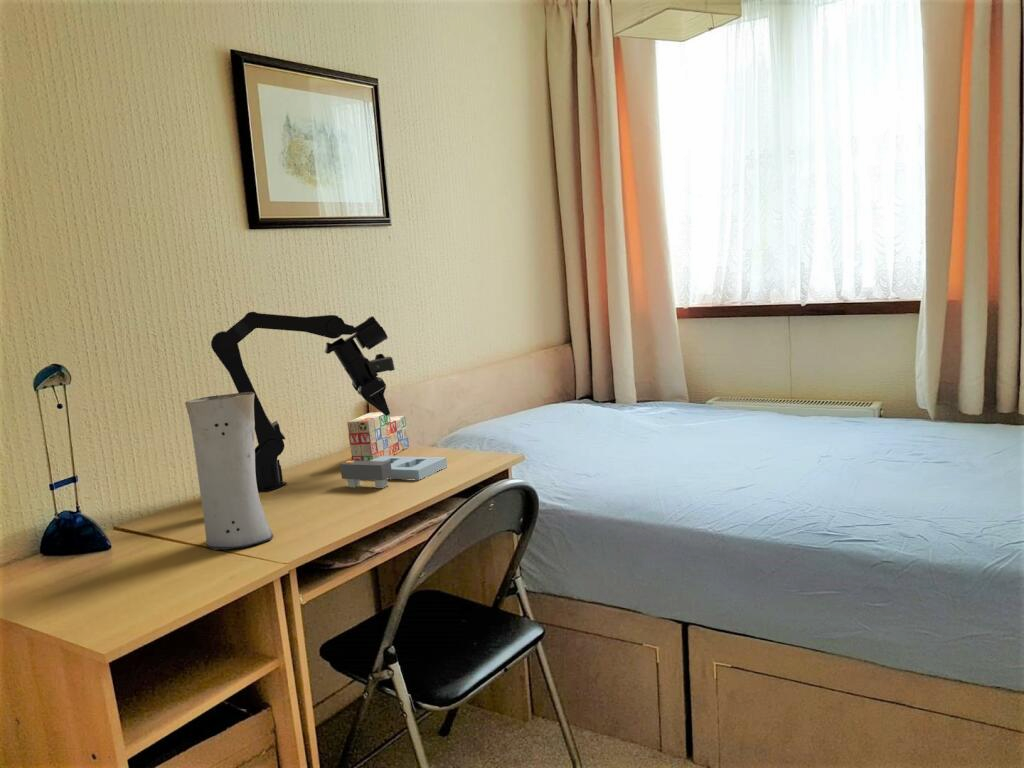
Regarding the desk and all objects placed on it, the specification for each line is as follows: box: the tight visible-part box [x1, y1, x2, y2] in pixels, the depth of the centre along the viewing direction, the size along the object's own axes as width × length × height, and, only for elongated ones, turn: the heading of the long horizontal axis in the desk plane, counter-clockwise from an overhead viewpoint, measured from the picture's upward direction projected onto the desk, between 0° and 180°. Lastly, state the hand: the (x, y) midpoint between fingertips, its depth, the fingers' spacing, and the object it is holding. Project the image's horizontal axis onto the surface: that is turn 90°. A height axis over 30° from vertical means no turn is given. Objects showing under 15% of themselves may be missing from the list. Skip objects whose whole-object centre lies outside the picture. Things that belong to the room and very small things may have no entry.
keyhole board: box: [370, 455, 448, 481], centre depth 191 cm, size 20×12×2 cm, turn 62°
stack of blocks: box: [346, 411, 410, 461], centre depth 212 cm, size 21×6×12 cm, turn 162°
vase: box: [184, 392, 274, 552], centre depth 147 cm, size 13×14×28 cm
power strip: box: [339, 459, 392, 489], centre depth 180 cm, size 12×4×6 cm, turn 62°
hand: (385, 412), depth 198 cm, fingers open, 9 cm apart
